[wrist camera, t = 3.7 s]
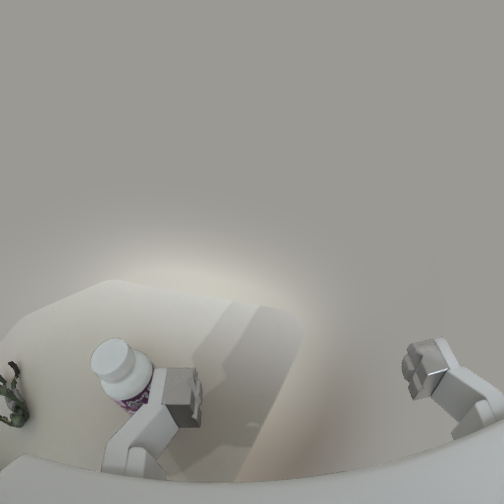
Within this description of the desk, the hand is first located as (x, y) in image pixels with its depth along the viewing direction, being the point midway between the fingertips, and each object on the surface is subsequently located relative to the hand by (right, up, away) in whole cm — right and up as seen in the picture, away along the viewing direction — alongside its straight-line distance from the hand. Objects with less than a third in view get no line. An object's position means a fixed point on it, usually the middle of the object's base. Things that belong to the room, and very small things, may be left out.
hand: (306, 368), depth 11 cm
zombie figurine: (-36, -18, +22) cm, 45 cm away
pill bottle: (-11, -12, +19) cm, 25 cm away
